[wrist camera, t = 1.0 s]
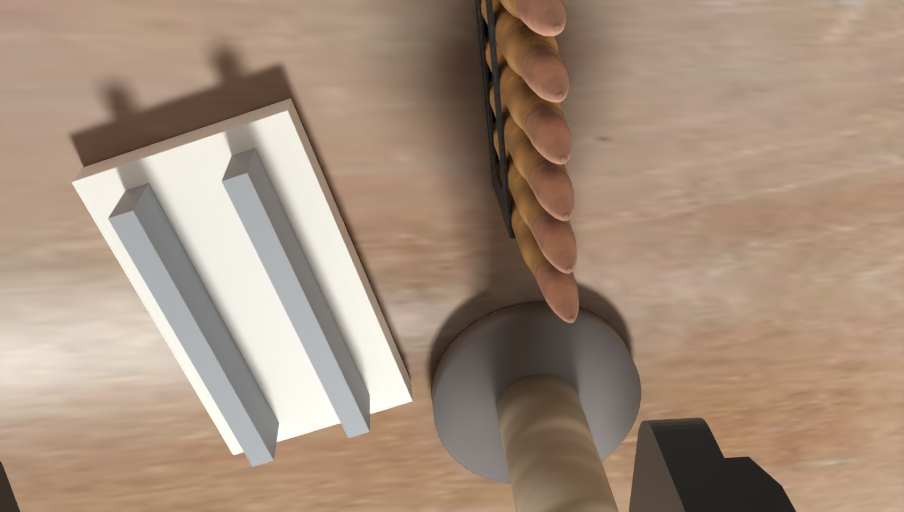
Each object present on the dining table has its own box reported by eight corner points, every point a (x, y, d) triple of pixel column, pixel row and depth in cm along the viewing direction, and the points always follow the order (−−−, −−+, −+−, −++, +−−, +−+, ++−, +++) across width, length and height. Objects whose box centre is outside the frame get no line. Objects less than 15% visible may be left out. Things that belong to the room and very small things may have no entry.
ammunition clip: (536, 183, 36) (602, 342, 26) (493, 189, 36) (542, 350, 26) (518, -80, 31) (592, -16, 20) (468, -73, 31) (517, -5, 20)
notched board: (291, 98, 33) (281, 133, 30) (411, 381, 41) (414, 436, 37) (83, 167, 34) (49, 209, 31) (237, 434, 41) (225, 493, 38)
